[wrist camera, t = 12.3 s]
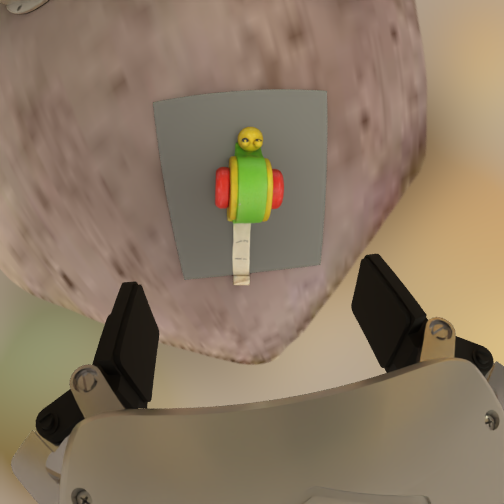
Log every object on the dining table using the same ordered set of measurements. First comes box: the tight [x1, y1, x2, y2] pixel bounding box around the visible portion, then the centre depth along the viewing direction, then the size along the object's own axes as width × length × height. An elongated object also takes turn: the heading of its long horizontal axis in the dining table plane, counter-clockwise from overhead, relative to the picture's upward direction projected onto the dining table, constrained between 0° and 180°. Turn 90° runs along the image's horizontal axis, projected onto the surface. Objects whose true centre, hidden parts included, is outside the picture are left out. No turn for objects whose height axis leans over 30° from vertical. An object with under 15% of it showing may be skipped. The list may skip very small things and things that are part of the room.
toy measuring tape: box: [215, 127, 284, 285], centre depth 28 cm, size 6×19×7 cm, turn 176°
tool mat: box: [153, 89, 327, 280], centre depth 30 cm, size 18×22×1 cm
